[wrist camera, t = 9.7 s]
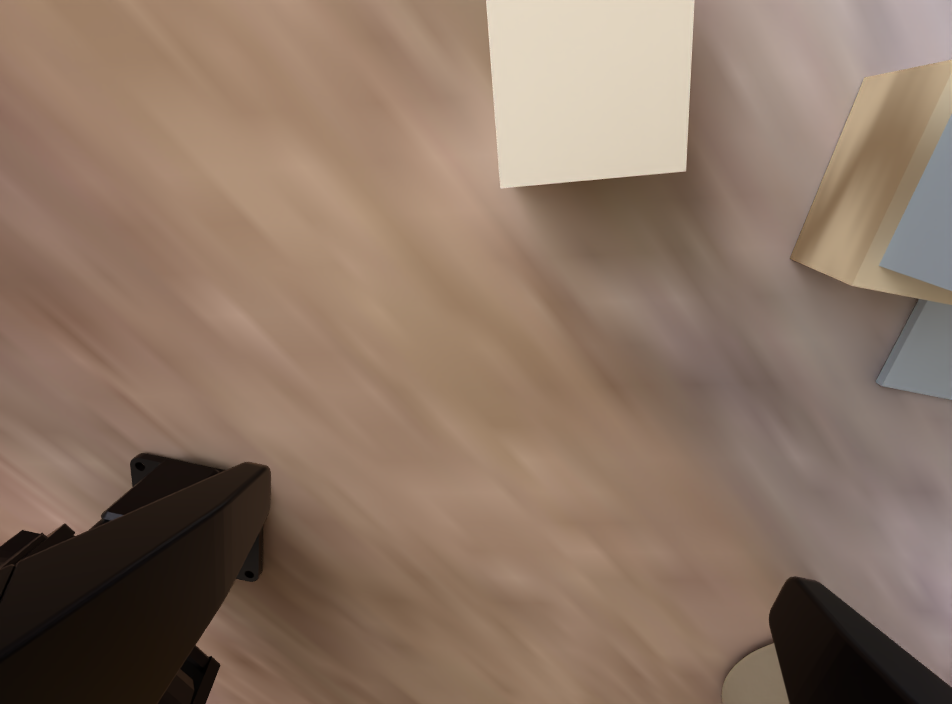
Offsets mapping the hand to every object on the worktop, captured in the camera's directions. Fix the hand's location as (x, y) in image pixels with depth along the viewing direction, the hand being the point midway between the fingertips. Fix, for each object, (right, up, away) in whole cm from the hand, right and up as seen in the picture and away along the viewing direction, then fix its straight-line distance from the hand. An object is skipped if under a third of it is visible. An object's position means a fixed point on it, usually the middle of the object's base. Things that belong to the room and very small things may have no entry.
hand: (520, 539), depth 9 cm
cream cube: (+3, +12, +9) cm, 15 cm away
